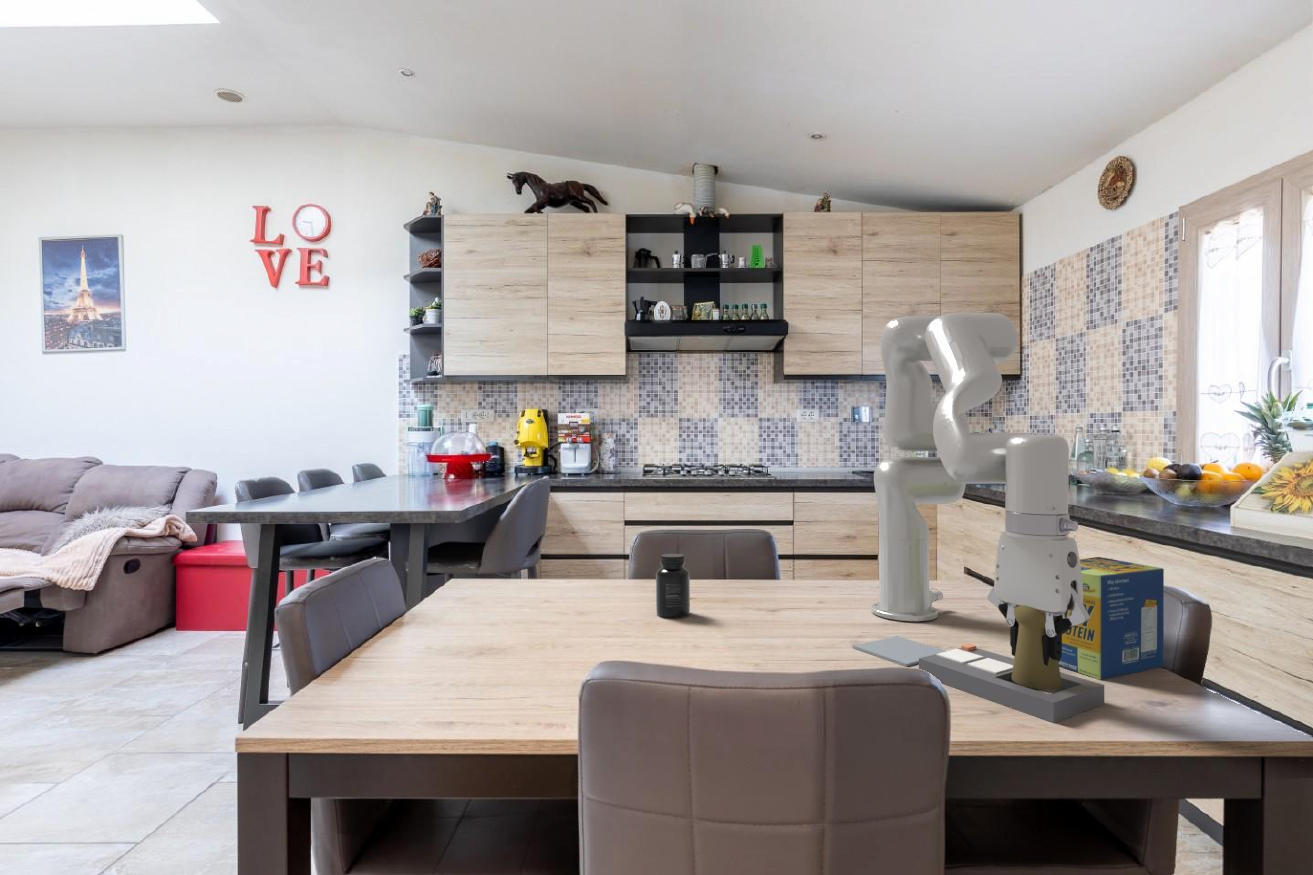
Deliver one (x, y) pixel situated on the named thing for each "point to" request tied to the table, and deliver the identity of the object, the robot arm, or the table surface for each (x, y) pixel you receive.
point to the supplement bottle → (672, 587)
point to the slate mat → (898, 650)
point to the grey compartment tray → (1010, 683)
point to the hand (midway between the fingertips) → (1035, 657)
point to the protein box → (1117, 620)
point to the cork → (1033, 652)
